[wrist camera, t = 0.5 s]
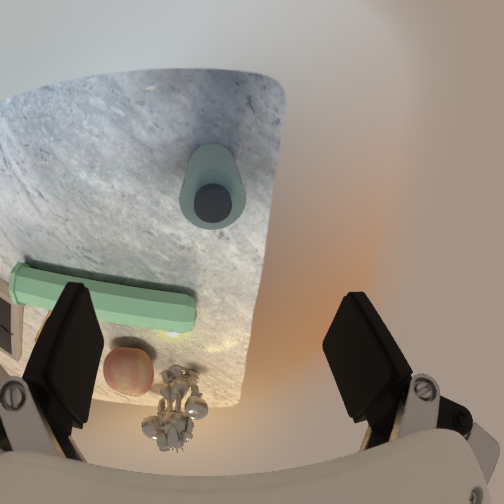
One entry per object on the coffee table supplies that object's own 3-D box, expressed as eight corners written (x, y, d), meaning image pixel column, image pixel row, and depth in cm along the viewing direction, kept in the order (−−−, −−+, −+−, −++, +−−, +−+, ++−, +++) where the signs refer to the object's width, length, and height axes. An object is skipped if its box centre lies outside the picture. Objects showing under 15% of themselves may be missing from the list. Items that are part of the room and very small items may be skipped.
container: (199, 330, 28) (3, 293, 21) (193, 344, 33) (21, 312, 26) (201, 282, 32) (18, 252, 25) (195, 302, 36) (32, 275, 29)
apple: (100, 346, 37) (90, 387, 30) (126, 327, 35) (117, 373, 29) (137, 368, 41) (133, 408, 34) (165, 353, 39) (163, 397, 33)
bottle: (190, 141, 23) (179, 170, 15) (237, 145, 24) (252, 176, 16) (187, 185, 26) (177, 235, 18) (231, 188, 27) (243, 238, 18)
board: (34, 340, 35) (32, 346, 34) (50, 309, 32) (47, 316, 30) (62, 357, 38) (60, 364, 37) (83, 331, 35) (81, 338, 34)
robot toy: (162, 395, 47) (161, 462, 35) (136, 383, 44) (131, 455, 32) (213, 369, 43) (220, 450, 31) (185, 355, 40) (187, 443, 28)
